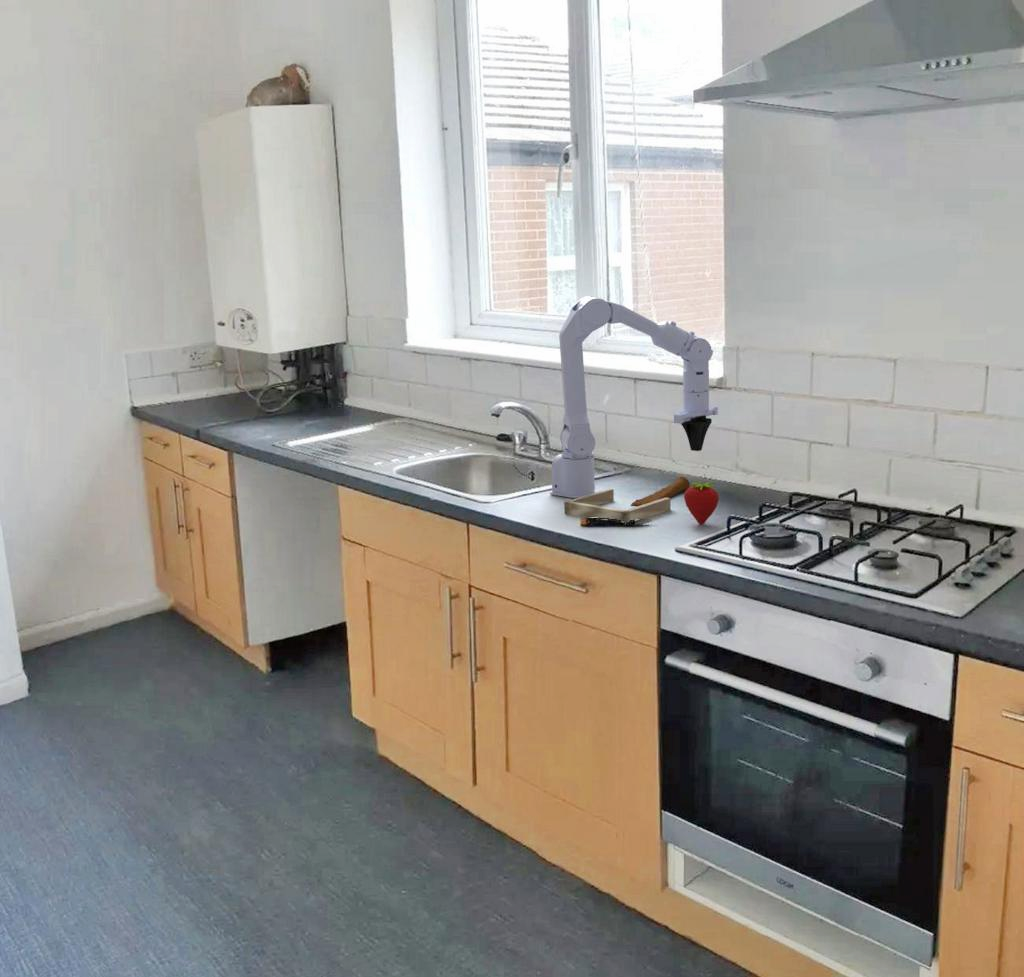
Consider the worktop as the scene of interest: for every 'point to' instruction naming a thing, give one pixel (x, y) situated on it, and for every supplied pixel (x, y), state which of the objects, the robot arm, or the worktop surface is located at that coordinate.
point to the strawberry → (701, 500)
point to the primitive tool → (665, 492)
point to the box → (589, 508)
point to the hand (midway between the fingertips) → (696, 450)
